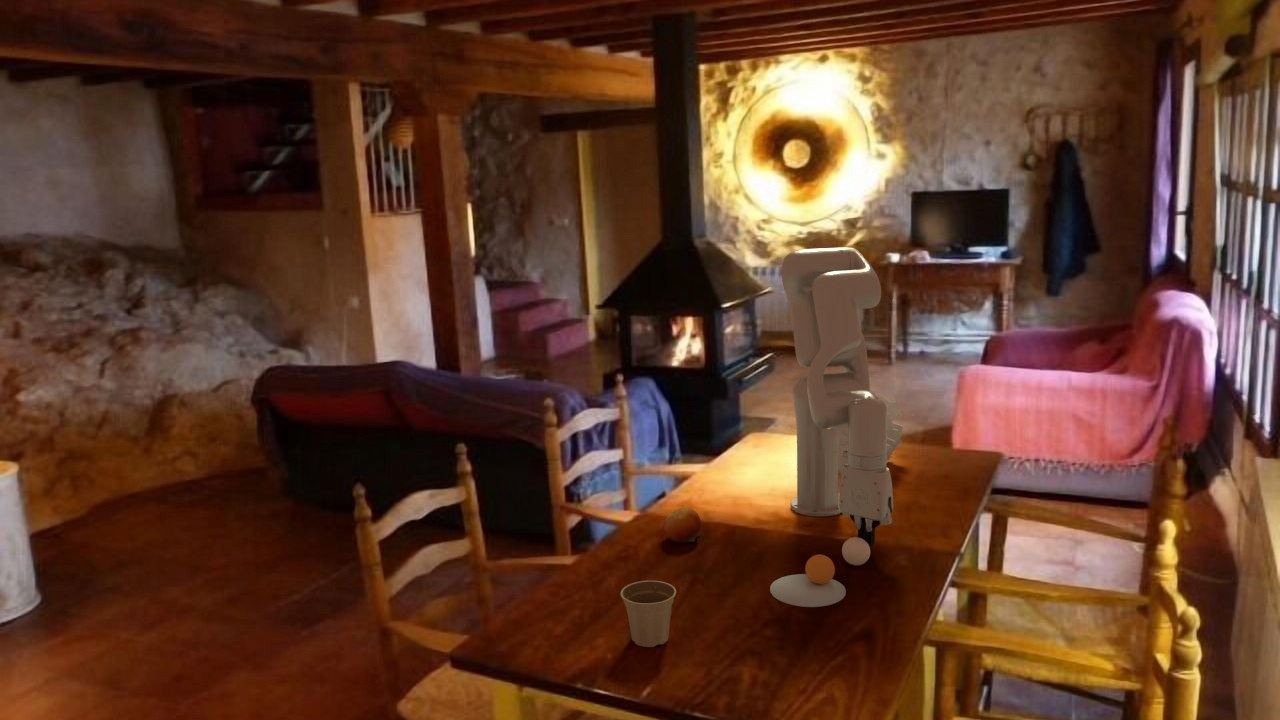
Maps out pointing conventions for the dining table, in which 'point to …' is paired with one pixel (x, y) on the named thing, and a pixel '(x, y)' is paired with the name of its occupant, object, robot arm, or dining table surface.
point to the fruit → (682, 525)
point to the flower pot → (649, 611)
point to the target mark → (806, 591)
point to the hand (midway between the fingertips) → (866, 546)
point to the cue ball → (856, 551)
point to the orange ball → (820, 569)
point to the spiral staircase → (892, 433)
